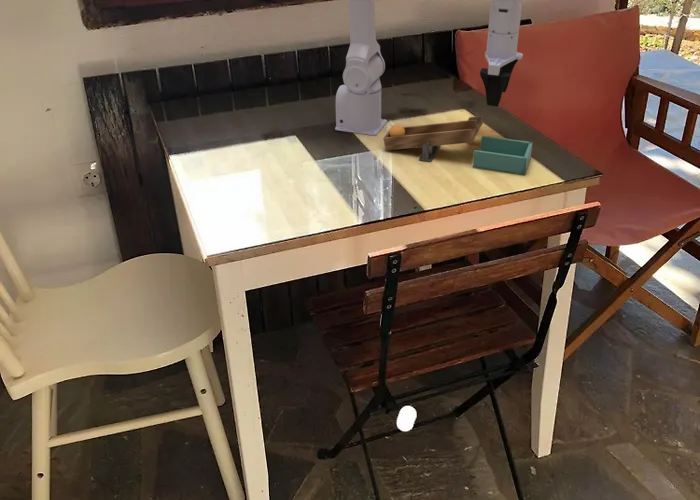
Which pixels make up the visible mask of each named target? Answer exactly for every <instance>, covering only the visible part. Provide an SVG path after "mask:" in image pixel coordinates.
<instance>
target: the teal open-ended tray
mask: <svg viewBox="0 0 700 500" xmlns="http://www.w3.org/2000/svg"><path fill="white" fill-rule="evenodd" d="M480 140H481V141H480V150H478V149H474V150H473V161H472V168H473V169H481V170H488V171H495V172H502V173H508V174H513V175H522V176H525V175H526V172H527V170H528V167H529V164H530V161H531V159H532V151H533V144H534V143H533V141H527V140H519V139H511V138H505V137H504V138H503V137H497V136H489V135H483V134H482V135H481V139H480Z"/></svg>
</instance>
